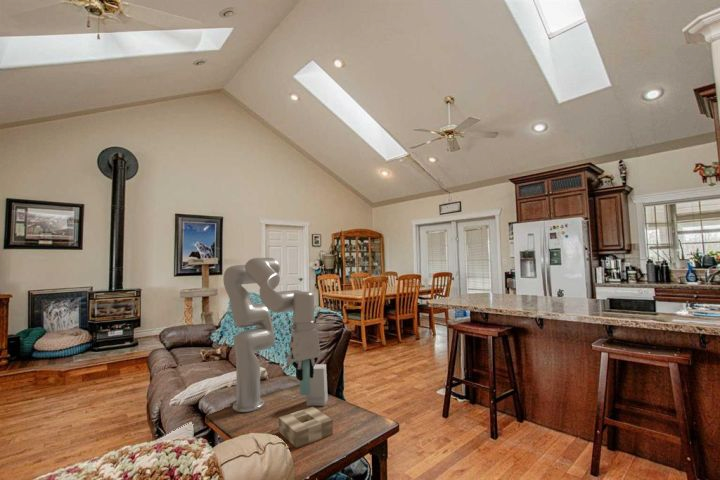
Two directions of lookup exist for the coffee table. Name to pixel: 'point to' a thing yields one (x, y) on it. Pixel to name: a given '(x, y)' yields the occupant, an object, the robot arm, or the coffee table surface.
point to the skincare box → (318, 387)
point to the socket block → (305, 426)
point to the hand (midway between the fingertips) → (304, 377)
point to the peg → (305, 377)
